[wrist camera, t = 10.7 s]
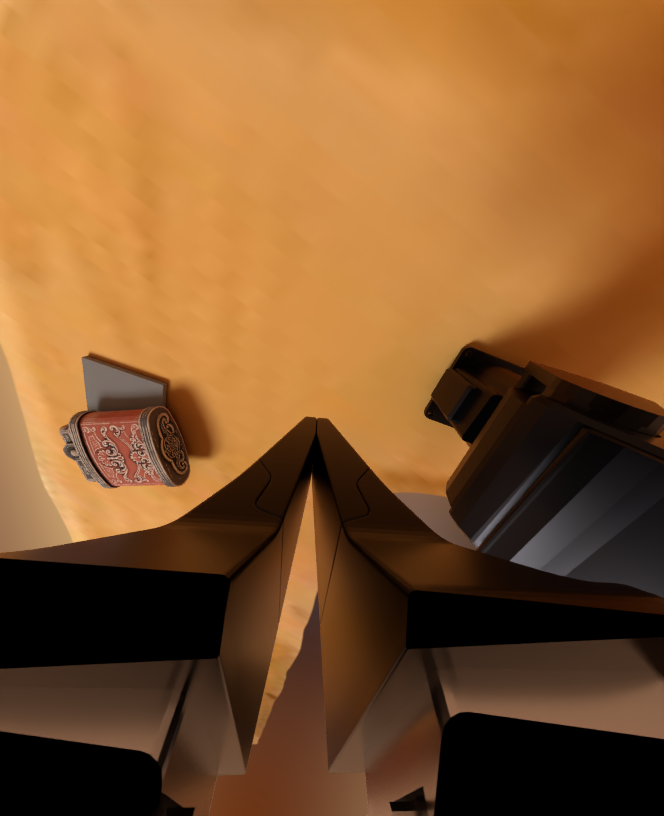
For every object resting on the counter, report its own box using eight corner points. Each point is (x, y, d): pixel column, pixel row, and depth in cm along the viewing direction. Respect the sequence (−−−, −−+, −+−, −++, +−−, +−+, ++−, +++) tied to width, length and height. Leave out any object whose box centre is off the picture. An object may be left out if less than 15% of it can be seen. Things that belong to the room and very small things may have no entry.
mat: (166, 383, 22) (163, 385, 22) (161, 477, 28) (158, 480, 27) (87, 355, 22) (81, 357, 21) (97, 457, 27) (93, 460, 27)
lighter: (168, 400, 23) (73, 406, 24) (139, 415, 20) (31, 421, 21) (194, 472, 26) (109, 474, 27) (173, 495, 23) (77, 497, 24)
